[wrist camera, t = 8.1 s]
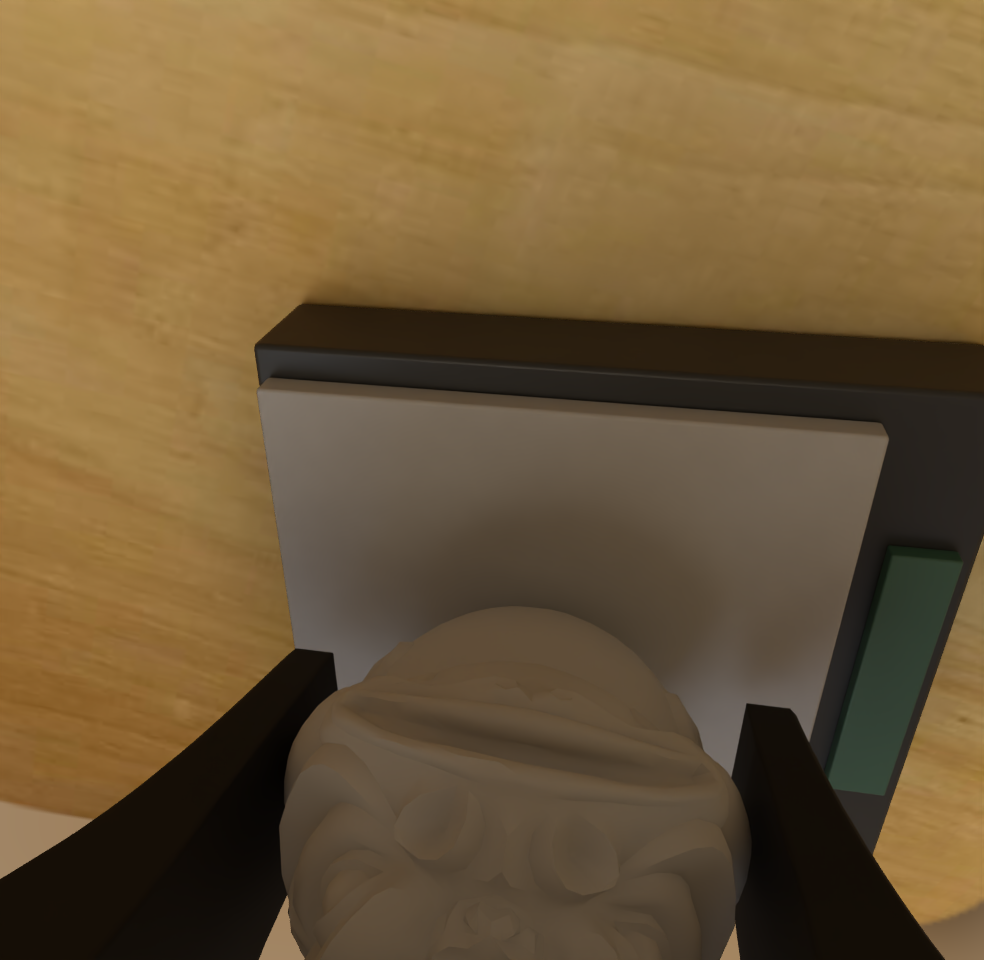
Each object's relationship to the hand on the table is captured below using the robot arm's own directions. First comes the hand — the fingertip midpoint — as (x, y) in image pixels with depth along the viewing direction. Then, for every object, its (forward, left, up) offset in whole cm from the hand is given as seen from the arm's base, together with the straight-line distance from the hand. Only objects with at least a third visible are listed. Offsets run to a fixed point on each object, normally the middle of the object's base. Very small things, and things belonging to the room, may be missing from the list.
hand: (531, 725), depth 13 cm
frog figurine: (0, 0, -2) cm, 2 cm away
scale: (0, -1, -4) cm, 4 cm away
